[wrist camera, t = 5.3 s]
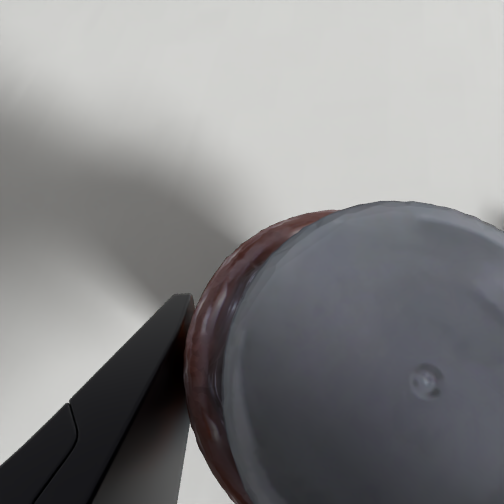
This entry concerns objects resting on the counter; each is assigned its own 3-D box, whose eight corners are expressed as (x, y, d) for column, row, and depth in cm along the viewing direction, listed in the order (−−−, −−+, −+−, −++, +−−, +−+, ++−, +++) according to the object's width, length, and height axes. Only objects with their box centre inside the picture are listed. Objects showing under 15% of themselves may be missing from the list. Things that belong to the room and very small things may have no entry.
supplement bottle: (272, 255, 15) (318, 34, 4) (393, 330, 15) (818, 285, 4) (194, 375, 14) (-12, 479, 3) (322, 465, 13) (645, 1035, 2)
